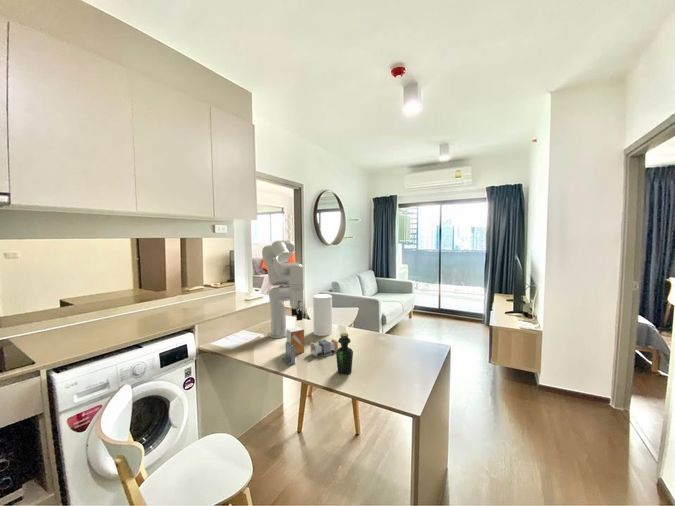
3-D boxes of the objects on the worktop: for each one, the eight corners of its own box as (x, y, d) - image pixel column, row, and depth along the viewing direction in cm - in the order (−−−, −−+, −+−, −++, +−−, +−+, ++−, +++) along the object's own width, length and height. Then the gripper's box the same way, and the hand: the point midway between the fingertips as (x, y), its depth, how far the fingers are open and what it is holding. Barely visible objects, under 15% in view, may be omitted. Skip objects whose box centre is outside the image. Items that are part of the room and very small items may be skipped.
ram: (310, 353, 155) (310, 342, 155) (333, 347, 162) (332, 337, 162) (315, 356, 150) (315, 345, 150) (338, 351, 157) (338, 340, 157)
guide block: (316, 351, 159) (316, 340, 158) (324, 349, 161) (324, 338, 161) (324, 356, 151) (324, 345, 151) (332, 354, 154) (332, 343, 153)
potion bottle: (340, 377, 129) (340, 338, 128) (333, 369, 137) (333, 333, 136) (356, 373, 132) (356, 335, 131) (348, 366, 140) (348, 330, 139)
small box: (291, 355, 153) (290, 332, 152) (286, 351, 158) (286, 328, 158) (304, 352, 158) (304, 329, 157) (299, 348, 163) (299, 326, 162)
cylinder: (328, 336, 182) (328, 298, 180) (310, 334, 185) (310, 297, 184) (334, 330, 194) (334, 294, 192) (317, 328, 197) (317, 293, 196)
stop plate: (282, 359, 148) (281, 343, 147) (289, 358, 150) (289, 341, 149) (287, 365, 141) (287, 348, 140) (295, 363, 143) (294, 346, 142)
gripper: (285, 285, 160) (286, 314, 161) (294, 290, 144) (294, 323, 145) (298, 284, 163) (298, 313, 164) (308, 289, 148) (308, 321, 149)
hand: (296, 317), depth 155 cm, fingers open, 9 cm apart
